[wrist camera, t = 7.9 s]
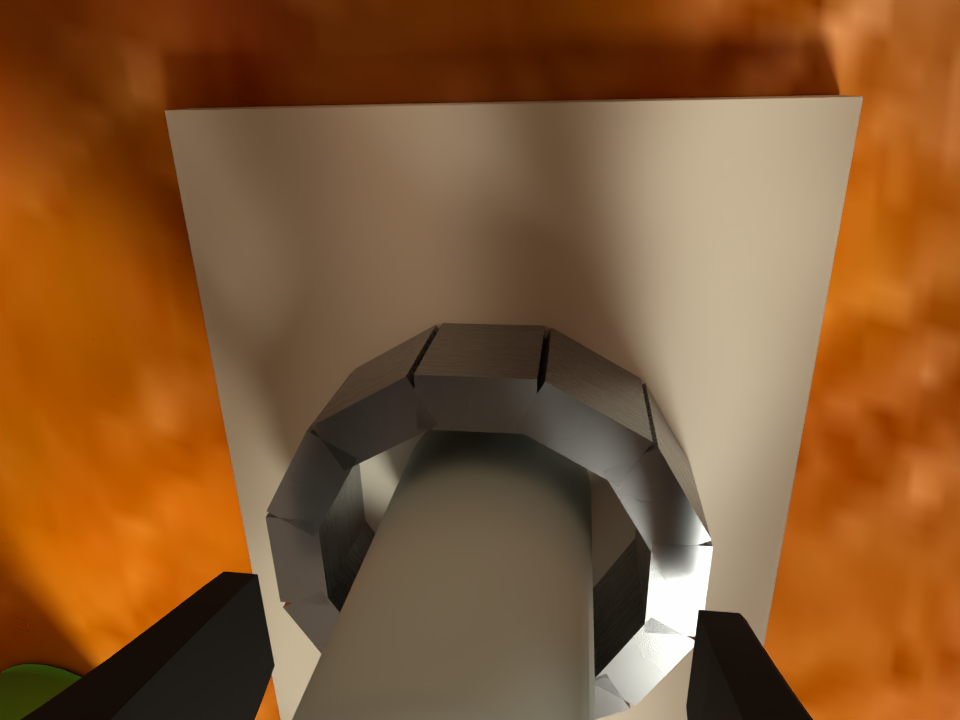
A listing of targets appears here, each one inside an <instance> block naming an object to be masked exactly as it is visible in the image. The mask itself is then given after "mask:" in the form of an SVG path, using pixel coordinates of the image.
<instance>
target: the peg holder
mask: <svg viewBox="0 0 960 720" xmlns="http://www.w3.org/2000/svg"><path fill="white" fill-rule="evenodd" d="M862 100H863V97H860V96H848V95H812V96H763V97H713V98H664V99H614V100H565V101H516V102H466V103H417V104H368V105H318V106H269V107H219V108H188V109H177V110H166V111H165V116H166V121H167V126H168V132H169V137H170V142H171V147H172V153H173V158H174V163H175V168H176V174H177V179H178V184H179V189H180V195H181V200H182V205H183V210H184V216H185V221H186V226H187V231H188V237H189V242H190V247H191V252H192V258H193V263H194V268H195V273H196V279H197V284H198V289H199V294H200V300H201V305H202V310H203V315H204V320H205V326H206V331H207V336H208V341H209V347H210V352H211V357H212V362H213V368H214V373H215V378H216V383H217V389H218V394H219V399H220V404H221V410H222V415H223V420H224V425H225V431H226V436H227V441H228V446H229V452H230V457H231V462H232V467H233V473H234V478H235V483H236V488H237V494H238V499H239V504H240V509H241V515H242V520H243V525H244V530H245V536H246V541H247V546H248V551H249V557H250V562H251V567H252V572H253V574H258V579H259V584H260V589H261V595H262V600H263V605H264V611H265V616H266V621H267V627H268V632H269V638H270V643H271V648H272V654H273V659H274V664H275V666H274V669H273V672H272V677H273V682H274V688H275V693H276V698H277V703H278V709H279V714H280V719H281V720H292V719H293V716H294V714H295V712H296V710H297V707H298V705H299V703H300V701H301V698H302V696H303V694H304V692H305V690H306V687H307V685H308V683H309V681H310V678H311V676H312V674H313V672H314V670H315V667H316V665H317V663H318V661H319V658H320V656H321V654H322V652H323V650H324V647H325V645H326V643H327V641H328V638H329V636H330V634H331V632H332V629H333V627H334V625H335V623H336V621H337V618H338V616H339V614H340V612H341V609H342V607H343V605H344V603H345V601H346V598H347V596H348V594H349V592H350V589H351V587H352V585H353V583H354V580H355V578H356V576H357V574H358V572H359V569H360V567H361V565H362V563H363V560H364V558H365V556H366V554H367V552H368V549H369V547H370V545H371V543H372V540H373V538H374V536H375V534H376V532H377V529H378V527H379V525H380V523H381V520H382V518H383V516H384V514H385V511H386V509H387V507H388V505H389V503H390V500H391V498H392V496H393V494H394V491H395V489H396V487H397V485H398V483H399V480H400V478H401V476H402V474H403V471H404V469H405V467H406V465H407V462H408V460H409V458H410V456H411V454H412V451H413V449H414V448H415V446H416V444H417V443H418V441H419V440H420V439H421V437H422V436H423V435H424V434H425V433H426V432H427V431H428V430H447V431H469V432H490V433H512V434H525V435H527V436H529V437H531V438H532V439H534V440H536V441H538V442H540V443H541V444H543V445H545V446H547V447H549V448H550V449H552V450H554V451H556V452H558V453H559V454H561V455H563V456H565V457H567V458H568V459H570V460H572V461H574V462H576V463H577V464H579V465H581V466H583V467H585V468H586V469H587V471H588V475H589V479H590V487H591V521H592V571H593V621H594V670H595V720H687V711H686V703H687V695H688V688H689V680H690V672H691V664H692V657H693V649H694V641H695V633H696V625H697V618H698V610H708V611H721V612H733V613H740V614H741V615H742V616H743V617H744V618H745V619H746V620H747V622H748V624H749V625H750V627H751V628H752V630H753V632H754V633H755V635H756V636H757V638H758V640H759V641H760V643H761V644H762V646H763V647H764V642H765V636H766V631H767V625H768V620H769V614H770V609H771V603H772V597H773V592H774V586H775V581H776V575H777V570H778V564H779V559H780V553H781V548H782V542H783V537H784V531H785V526H786V520H787V515H788V509H789V504H790V498H791V492H792V487H793V481H794V476H795V470H796V465H797V459H798V454H799V448H800V443H801V437H802V432H803V426H804V421H805V415H806V410H807V404H808V399H809V393H810V387H811V382H812V376H813V371H814V365H815V360H816V354H817V349H818V343H819V338H820V332H821V327H822V321H823V316H824V310H825V305H826V299H827V294H828V288H829V283H830V277H831V271H832V266H833V260H834V255H835V249H836V244H837V238H838V233H839V227H840V222H841V216H842V211H843V205H844V200H845V194H846V189H847V183H848V178H849V172H850V166H851V161H852V155H853V150H854V144H855V139H856V133H857V128H858V122H859V117H860V111H861V106H862Z"/></svg>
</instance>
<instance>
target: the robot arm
mask: <svg viewBox="0 0 960 720" xmlns="http://www.w3.org/2000/svg"><path fill="white" fill-rule="evenodd" d="M274 666H275V664H274V659H273V654H272V648H271V643H270V638H269V632H268V627H267V621H266V616H265V611H264V605H263V600H262V595H261V589H260V584H259V579H258V574H248V573H235V572H223V573H221V574H220V575H219V576H217V577H216V578H214V579H213V580H212V581H210V582H209V583H208V584H206V585H205V586H204V587H202V588H201V589H200V590H198V591H197V592H196V593H194V594H193V595H192V596H190V597H189V598H188V599H186V600H185V601H184V602H183V603H181V604H180V605H179V606H177V607H176V608H175V609H173V610H172V611H171V612H170V613H168V614H167V615H166V616H164V617H163V618H162V619H160V620H159V621H158V622H157V623H155V624H154V625H153V626H151V627H150V628H149V629H147V630H146V631H145V632H143V633H142V634H141V635H139V636H138V637H137V638H135V639H134V640H133V641H131V642H130V643H129V644H127V645H126V646H125V647H123V648H122V649H121V650H119V651H118V652H117V653H115V654H114V655H113V656H111V657H110V658H109V659H107V660H106V661H105V662H103V663H102V664H100V665H99V666H97V667H96V668H95V669H93V670H92V671H90V672H89V673H87V674H86V675H85V676H83V677H82V678H80V679H79V680H77V681H76V682H75V683H73V684H72V685H70V686H69V687H67V688H66V689H65V690H63V691H62V692H60V693H59V694H57V695H56V696H55V697H53V698H52V699H50V700H49V701H47V702H46V703H45V704H43V705H42V706H40V707H39V708H37V709H36V710H34V711H33V712H31V713H30V714H28V715H27V716H25V717H24V718H22V719H20V720H254V719H255V717H256V714H257V712H258V709H259V707H260V704H261V702H262V699H263V696H264V694H265V691H266V688H267V685H268V683H269V680H270V677H271V674H272V672H273V669H274ZM686 711H687V720H813V719H812V718H811V716H810V715H809V714H808V712H807V711H806V709H805V708H804V707H803V705H802V704H801V702H800V701H799V700H798V698H797V697H796V695H795V694H794V692H793V691H792V690H791V688H790V687H789V685H788V684H787V682H786V681H785V679H784V678H783V676H782V675H781V673H780V672H779V670H778V669H777V667H776V666H775V664H774V663H773V661H772V660H771V658H770V657H769V655H768V654H767V652H766V651H765V649H764V648H763V646H762V644H761V643H760V641H759V640H758V638H757V636H756V635H755V633H754V632H753V630H752V628H751V627H750V625H749V624H748V622H747V620H746V619H745V618H744V617H743V616H742V615H741V614H740V613H733V612H721V611H708V610H698V618H697V625H696V633H695V641H694V649H693V657H692V664H691V672H690V680H689V688H688V695H687V703H686Z"/></svg>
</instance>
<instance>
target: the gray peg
mask: <svg viewBox="0 0 960 720" xmlns="http://www.w3.org/2000/svg"><path fill="white" fill-rule="evenodd" d="M292 720H595V670H594V621H593V571H592V521H591V487H590V479H589V475H588V471H587V469H586V468H585V467H583V466H581V465H579V464H577V463H576V462H574V461H572V460H570V459H568V458H567V457H565V456H563V455H561V454H559V453H558V452H556V451H554V450H552V449H550V448H549V447H547V446H545V445H543V444H541V443H540V442H538V441H536V440H534V439H532V438H531V437H529V436H527V435H525V434H512V433H490V432H469V431H447V430H428V431H427V432H426V433H425V434H424V435H423V436H422V437H421V439H420V440H419V441H418V443H417V444H416V446H415V448H414V449H413V451H412V454H411V456H410V458H409V460H408V462H407V465H406V467H405V469H404V471H403V474H402V476H401V478H400V480H399V483H398V485H397V487H396V489H395V491H394V494H393V496H392V498H391V500H390V503H389V505H388V507H387V509H386V511H385V514H384V516H383V518H382V520H381V523H380V525H379V527H378V529H377V532H376V534H375V536H374V538H373V540H372V543H371V545H370V547H369V549H368V552H367V554H366V556H365V558H364V560H363V563H362V565H361V567H360V569H359V572H358V574H357V576H356V578H355V580H354V583H353V585H352V587H351V589H350V592H349V594H348V596H347V598H346V601H345V603H344V605H343V607H342V609H341V612H340V614H339V616H338V618H337V621H336V623H335V625H334V627H333V629H332V632H331V634H330V636H329V638H328V641H327V643H326V645H325V647H324V650H323V652H322V654H321V656H320V658H319V661H318V663H317V665H316V667H315V670H314V672H313V674H312V676H311V678H310V681H309V683H308V685H307V687H306V690H305V692H304V694H303V696H302V698H301V701H300V703H299V705H298V707H297V710H296V712H295V714H294V716H293V719H292Z"/></svg>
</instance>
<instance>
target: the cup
mask: <svg viewBox="0 0 960 720" xmlns="http://www.w3.org/2000/svg"><path fill="white" fill-rule="evenodd" d="M80 678H82V677H80V676H77V675H75V674H73V673H70V672H68V671H66V670H63V669H59V668H55V667H51V666H47V665H38V664H24V665H17V666H12V667H10V668H8V669H6V670H4V671H2V672H1V673H0V720H20V719H22V718H24V717H25V716H27V715H28V714H30V713H31V712H33V711H34V710H36V709H37V708H39V707H40V706H42V705H43V704H45V703H46V702H47V701H49V700H50V699H52V698H53V697H55V696H56V695H57V694H59V693H60V692H62V691H63V690H65V689H66V688H67V687H69V686H70V685H72V684H73V683H75V682H76V681H77V680H79V679H80Z"/></svg>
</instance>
